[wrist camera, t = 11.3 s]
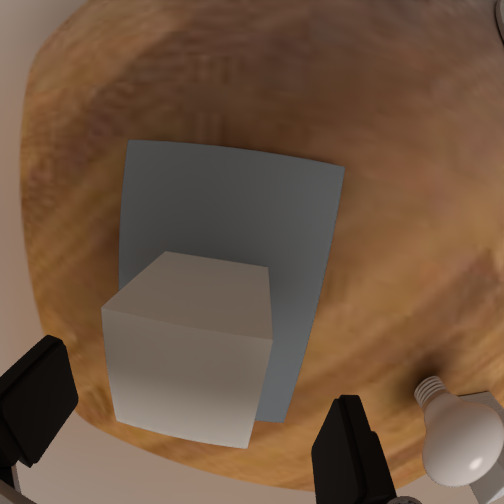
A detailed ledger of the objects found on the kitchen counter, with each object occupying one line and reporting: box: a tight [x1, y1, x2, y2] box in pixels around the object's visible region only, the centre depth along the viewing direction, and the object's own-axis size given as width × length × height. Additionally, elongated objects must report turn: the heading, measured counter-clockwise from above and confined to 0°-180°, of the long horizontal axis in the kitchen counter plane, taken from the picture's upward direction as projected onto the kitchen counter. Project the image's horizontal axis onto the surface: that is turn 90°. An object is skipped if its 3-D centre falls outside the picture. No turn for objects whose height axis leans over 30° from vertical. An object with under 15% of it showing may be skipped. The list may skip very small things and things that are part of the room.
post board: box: [119, 140, 345, 423], centre depth 15 cm, size 18×12×8 cm, turn 172°
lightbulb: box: [414, 376, 504, 487], centre depth 15 cm, size 6×6×11 cm
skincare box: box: [460, 391, 504, 504], centre depth 16 cm, size 6×4×12 cm
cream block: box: [101, 251, 273, 449], centre depth 13 cm, size 6×6×8 cm
